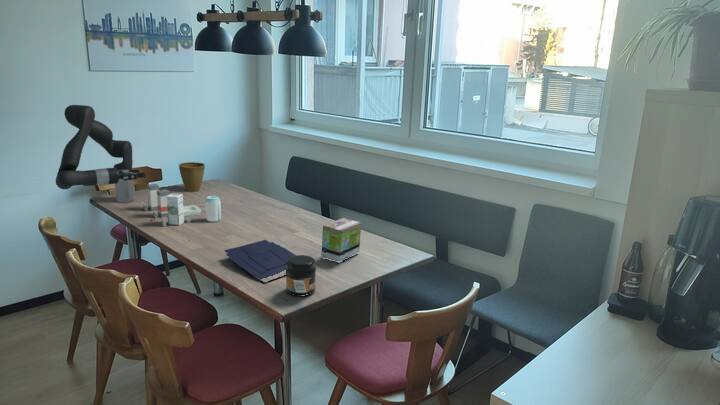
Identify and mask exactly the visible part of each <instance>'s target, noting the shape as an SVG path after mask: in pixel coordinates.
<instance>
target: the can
mask: <svg viewBox="0 0 720 405" xmlns="http://www.w3.org/2000/svg"><path fill="white" fill-rule="evenodd" d="M221 209H222V208H221V199H220V197H219V196H217V195H209V196H207V197H206V198H205V220H206V221H208V222H210V223H217V222H219V221H220V220H222V215H221V211H222V210H221Z"/></svg>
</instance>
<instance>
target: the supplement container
mask: <svg viewBox="0 0 720 405" xmlns="http://www.w3.org/2000/svg"><path fill="white" fill-rule="evenodd" d="M295 255H296V254H295ZM315 265H316V259H315V258H314V257H312V256H310V255H307V254H306V255H305V254H297V255H296V256H292V257H290V258H289V259H288V266H287V268H286V276H285V277H286V278H285V279H286V281H285V282H286V283H285V284H286V285H285V286H286V287H285V289H286V292H287V293H288V292H289V293H291V294H294V295H306V294H310V293H312V292H313V293H315V291H316V278H317V276H316V272H317V268H316V266H315ZM289 293H288V294H289ZM313 293H312V294H313ZM291 294H290V295H291ZM294 295H293V296H294ZM310 295H311V294H310Z"/></svg>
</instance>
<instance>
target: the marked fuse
mask: <svg viewBox="0 0 720 405" xmlns="http://www.w3.org/2000/svg"><path fill="white" fill-rule="evenodd" d="M169 194H171V193H170V191H169V190H168V189H166V188H165V189H159V190H157V202H158V210H157V213H158V217H160V218H161V219H162V218H168V211H167V196H168V195H169Z"/></svg>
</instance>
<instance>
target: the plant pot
mask: <svg viewBox="0 0 720 405" xmlns="http://www.w3.org/2000/svg"><path fill="white" fill-rule="evenodd" d="M205 166H206V165H205V163H203V162H198V161H197V162H195V161H192V162H191V161H189V162H188V161H187V162H181V163H179V164H178V169H179V174H180V177H181V180H182V183H183V186H184V188H185V191H186V192H190V193H195V192H198V191H200V188H201V185H202V182H203V179H204V175H205V169H206V168H205Z"/></svg>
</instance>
